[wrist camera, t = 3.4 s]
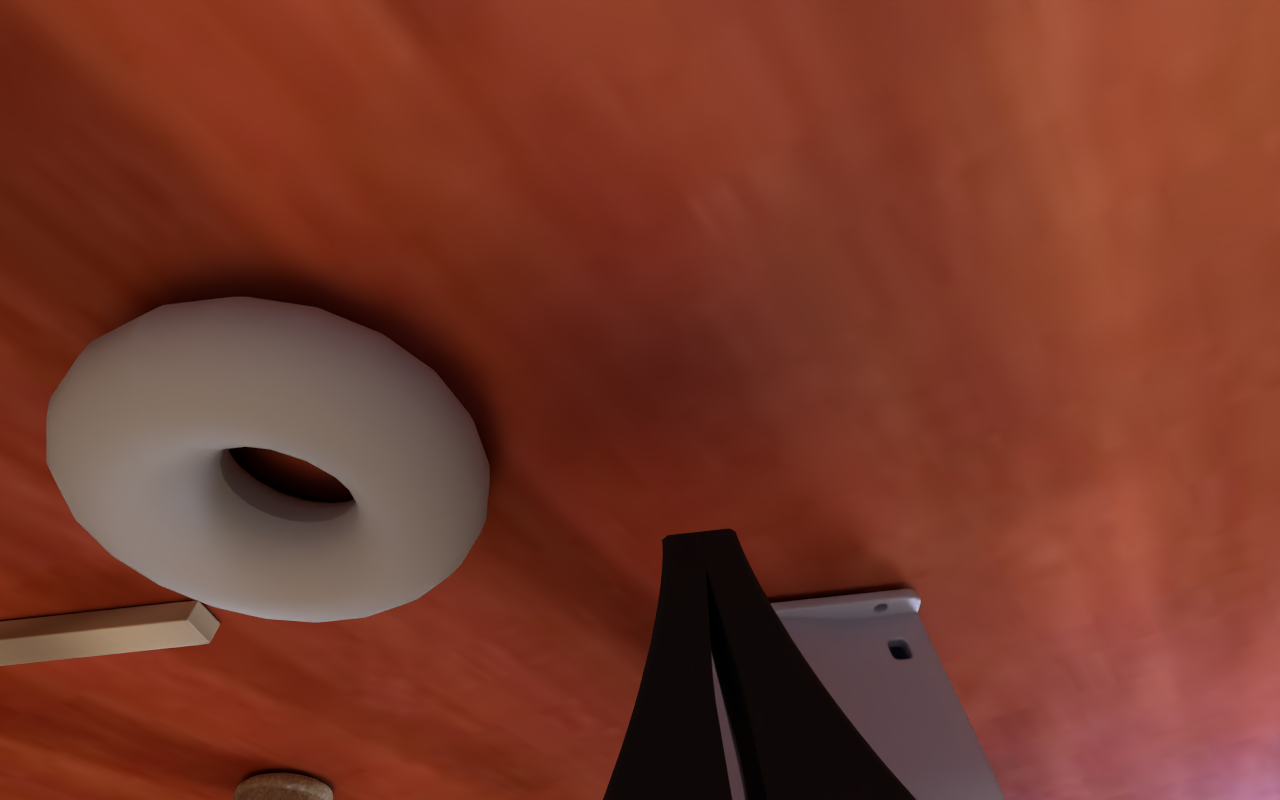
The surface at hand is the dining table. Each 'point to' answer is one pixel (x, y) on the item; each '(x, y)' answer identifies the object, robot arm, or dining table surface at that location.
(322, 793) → the sprinkles bottle
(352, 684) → the dining table surface
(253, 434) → the donut
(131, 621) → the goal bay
